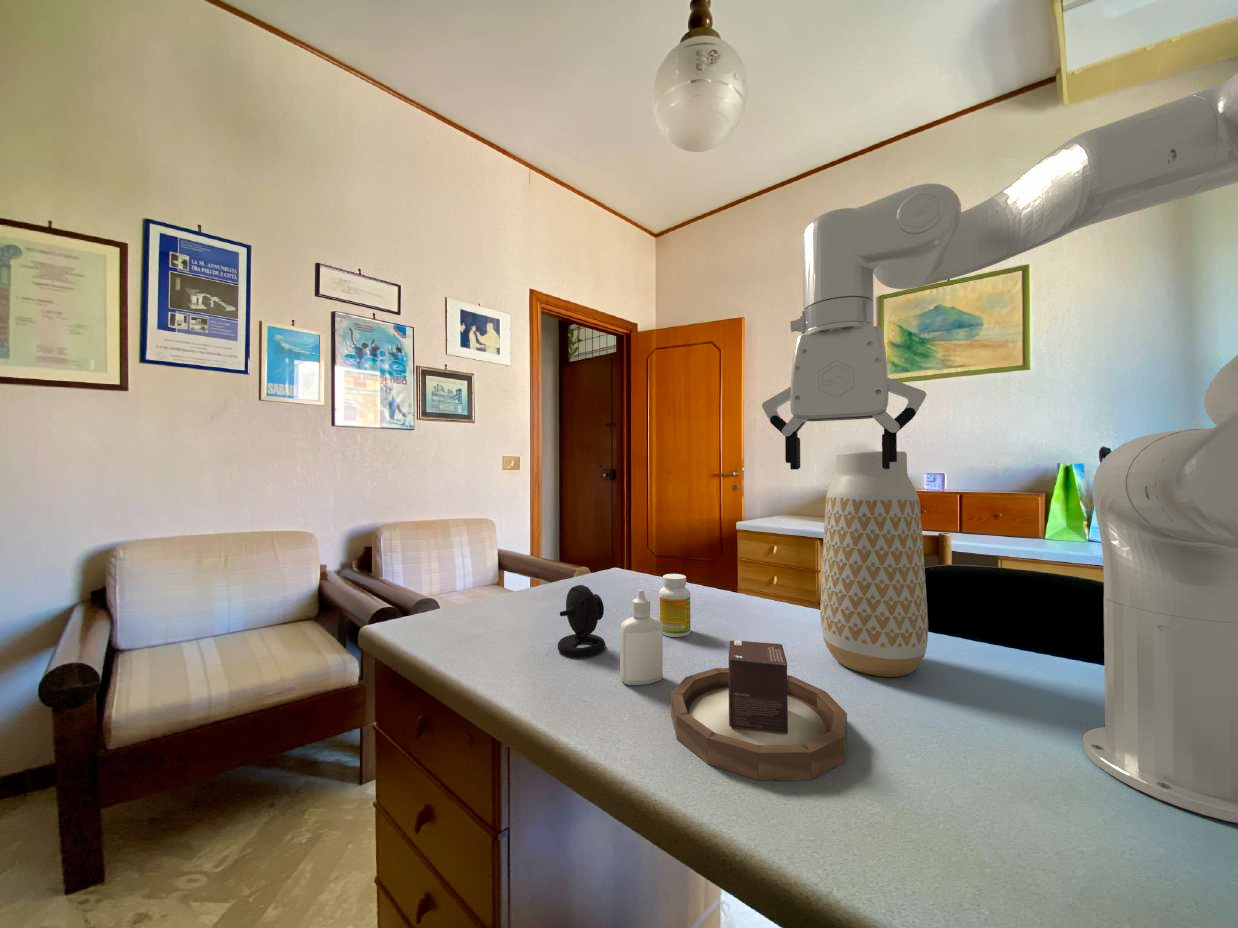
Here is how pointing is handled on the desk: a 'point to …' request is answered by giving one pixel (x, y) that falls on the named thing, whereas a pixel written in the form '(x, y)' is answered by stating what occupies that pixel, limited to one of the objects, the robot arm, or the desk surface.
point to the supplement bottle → (674, 606)
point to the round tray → (760, 753)
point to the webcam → (582, 623)
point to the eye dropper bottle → (641, 645)
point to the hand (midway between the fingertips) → (838, 469)
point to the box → (758, 686)
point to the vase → (873, 567)
